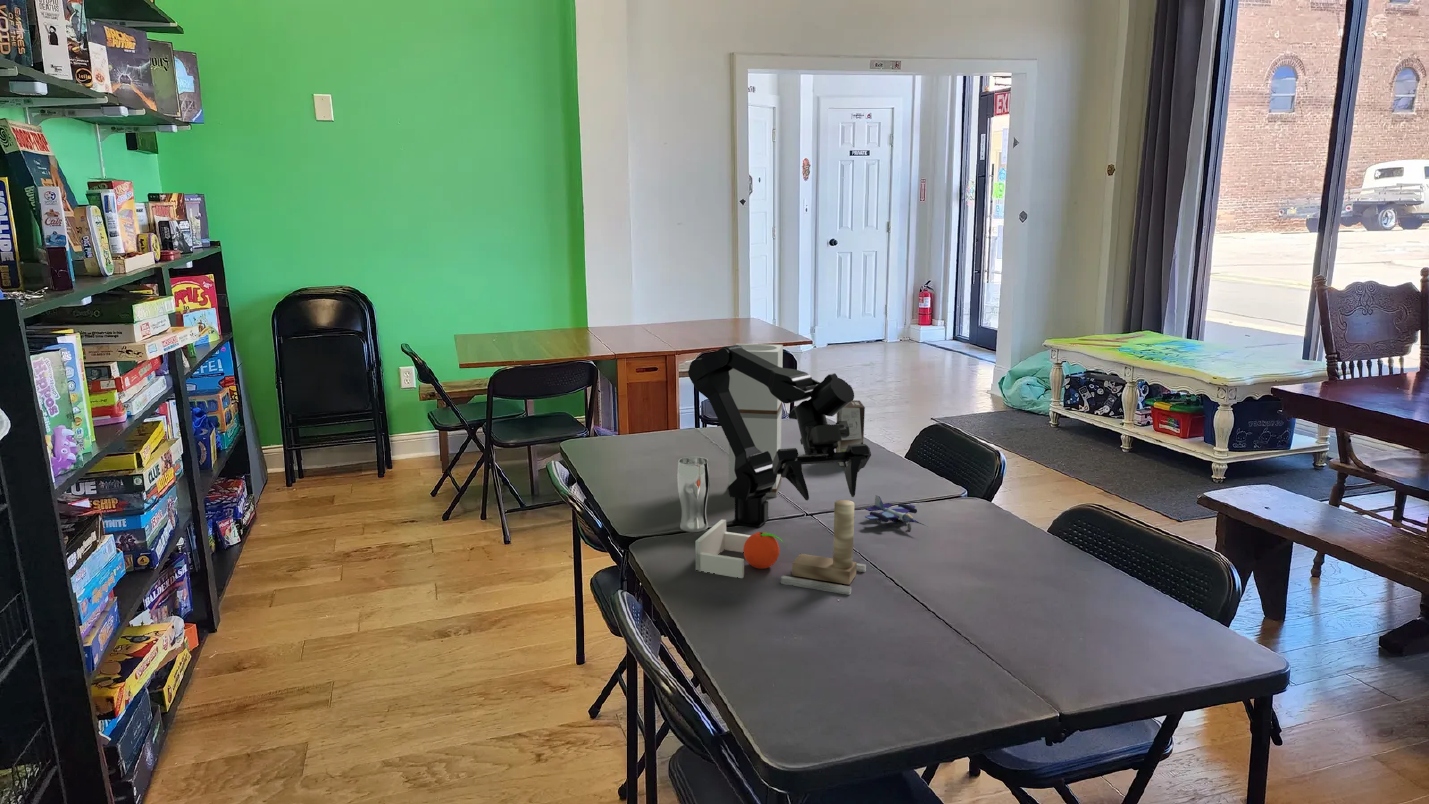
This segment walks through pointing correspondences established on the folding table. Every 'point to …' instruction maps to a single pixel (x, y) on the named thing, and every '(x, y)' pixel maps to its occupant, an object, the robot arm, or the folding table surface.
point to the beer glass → (693, 492)
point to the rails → (821, 583)
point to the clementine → (761, 550)
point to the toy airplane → (892, 512)
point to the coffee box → (852, 425)
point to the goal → (716, 543)
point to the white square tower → (758, 408)
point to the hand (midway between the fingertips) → (830, 497)
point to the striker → (842, 561)
